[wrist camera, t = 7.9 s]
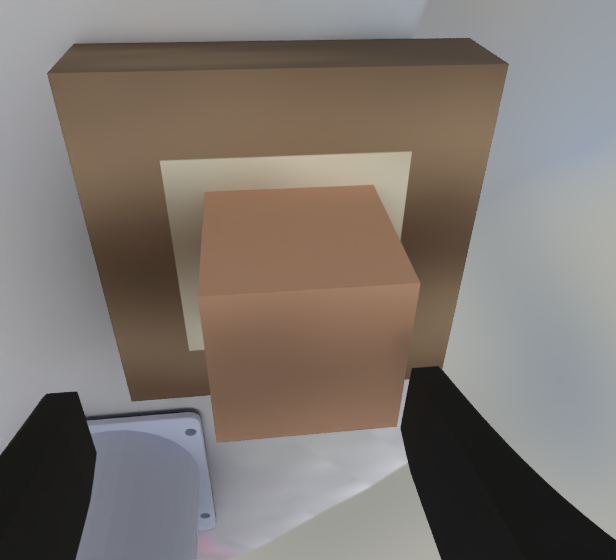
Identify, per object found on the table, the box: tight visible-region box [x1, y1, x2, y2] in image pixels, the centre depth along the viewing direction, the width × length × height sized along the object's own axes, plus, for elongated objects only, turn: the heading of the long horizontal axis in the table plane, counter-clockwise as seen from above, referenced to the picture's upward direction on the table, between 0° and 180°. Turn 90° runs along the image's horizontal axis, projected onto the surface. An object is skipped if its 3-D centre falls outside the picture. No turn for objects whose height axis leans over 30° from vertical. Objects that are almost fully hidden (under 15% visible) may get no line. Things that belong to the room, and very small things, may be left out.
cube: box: [198, 185, 420, 442], centre depth 16 cm, size 5×5×5 cm
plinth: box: [47, 38, 508, 401], centre depth 19 cm, size 12×12×3 cm
